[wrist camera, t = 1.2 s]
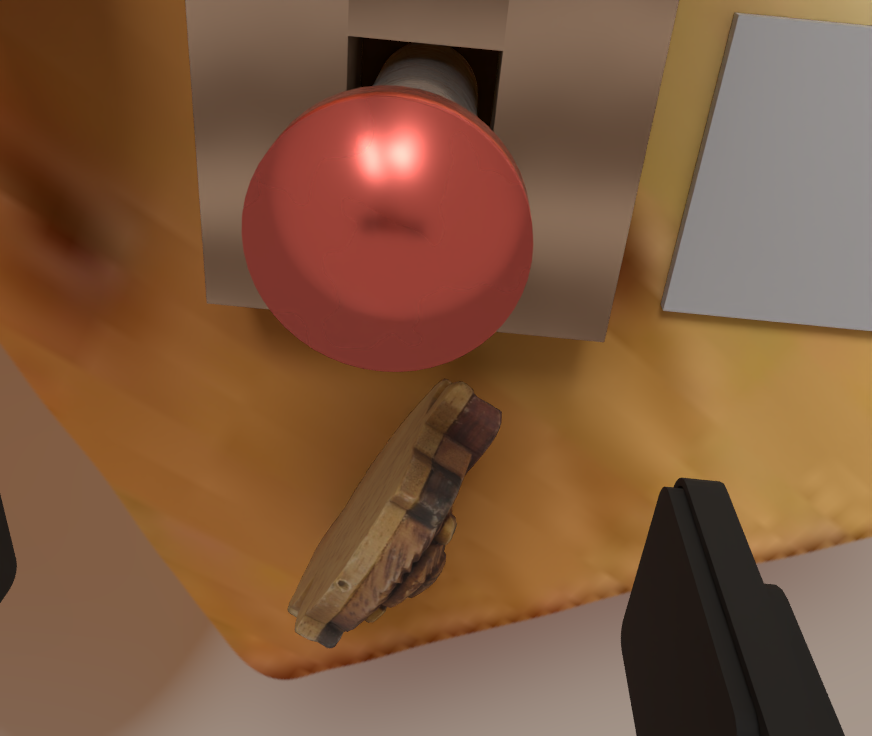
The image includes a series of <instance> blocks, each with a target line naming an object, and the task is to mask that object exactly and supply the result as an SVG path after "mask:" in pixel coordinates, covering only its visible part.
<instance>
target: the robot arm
mask: <svg viewBox="0 0 872 736" xmlns="http://www.w3.org/2000/svg"><path fill="white" fill-rule="evenodd" d="M16 567H17V563H16V557H15V553H14V549H13V545H12V541H11V537H10V532H9V528H8V524H7V520H6V516H5V512H4V508H3V504H2V500H1V495H0V603H1V601H2V600H3V598H4V597H5V595H6V594H7V592H8V591H9V589H10V587H11V586H12V584H13V581H14V578H15V575H16ZM621 647H622V655H623V660H624V666H625V672H626V677H627V683H628V688H629V695H630V700H631V706H632V711H633V717H634V723H635V729H636V735H637V736H845V735H844V733H843V730H842V728H841V725H840V723H839V720H838V718H837V716H836V714H835V711H834V709H833V706H832V704H831V702H830V699H829V697H828V694H827V692H826V689H825V687H824V685H823V682H822V680H821V678H820V675H819V673H818V670H817V668H816V666H815V663H814V661H813V659H812V656H811V654H810V651H809V649H808V647H807V644H806V642H805V640H804V637H803V635H802V632H801V630H800V628H799V625H798V623H797V620H796V618H795V616H794V613H793V611H792V608H791V606H790V604H789V601H788V599H787V597H786V596H785V594H784V592H783V590H782V589H781V588H779V587H778V586H777V585H772V584H764V583H763V580H762V578H761V576H760V573H759V571H758V568H757V565H756V563H755V560H754V558H753V555H752V552H751V550H750V547H749V545H748V542H747V540H746V537H745V535H744V532H743V530H742V527H741V525H740V522H739V519H738V517H737V514H736V512H735V509H734V507H733V504H732V502H731V499H730V497H729V494H728V492H727V489H726V487H725V485H724V484H723V483H722V482H719V481H709V480H699V479H689V478H679V479H678V480H677V481H676V483H675V485H674V488H673V487H663V488H662V490H661V492H660V494H659V497H658V501H657V504H656V508H655V511H654V515H653V518H652V522H651V525H650V529H649V532H648V536H647V539H646V543H645V546H644V550H643V553H642V556H641V560H640V563H639V567H638V570H637V574H636V577H635V581H634V584H633V588H632V591H631V595H630V598H629V602H628V605H627V609H626V612H625V616H624V619H623V624H622V630H621Z"/></svg>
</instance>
